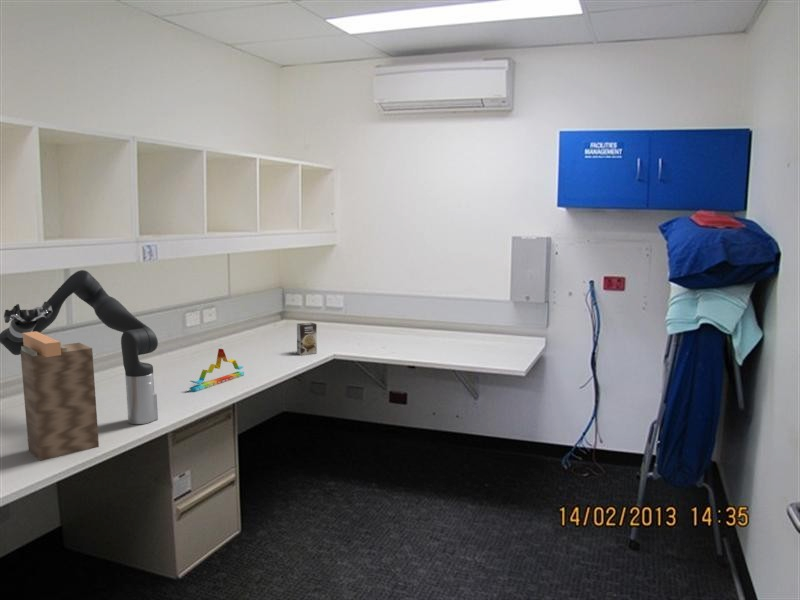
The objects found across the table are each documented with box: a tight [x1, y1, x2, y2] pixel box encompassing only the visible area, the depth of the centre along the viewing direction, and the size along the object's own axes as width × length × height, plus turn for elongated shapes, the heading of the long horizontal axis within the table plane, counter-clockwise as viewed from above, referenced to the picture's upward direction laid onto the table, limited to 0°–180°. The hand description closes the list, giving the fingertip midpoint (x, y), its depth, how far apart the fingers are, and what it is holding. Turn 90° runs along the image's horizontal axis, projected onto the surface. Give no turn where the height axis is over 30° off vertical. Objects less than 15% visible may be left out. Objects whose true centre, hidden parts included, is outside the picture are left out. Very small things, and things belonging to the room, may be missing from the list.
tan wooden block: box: [23, 331, 62, 357], centre depth 198 cm, size 4×24×4 cm, turn 44°
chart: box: [189, 348, 245, 393], centre depth 280 cm, size 30×3×15 cm, turn 153°
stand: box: [20, 342, 100, 462], centre depth 201 cm, size 17×12×33 cm
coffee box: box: [296, 322, 318, 356], centre depth 339 cm, size 9×6×16 cm
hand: (32, 305), depth 217 cm, fingers open, 8 cm apart
